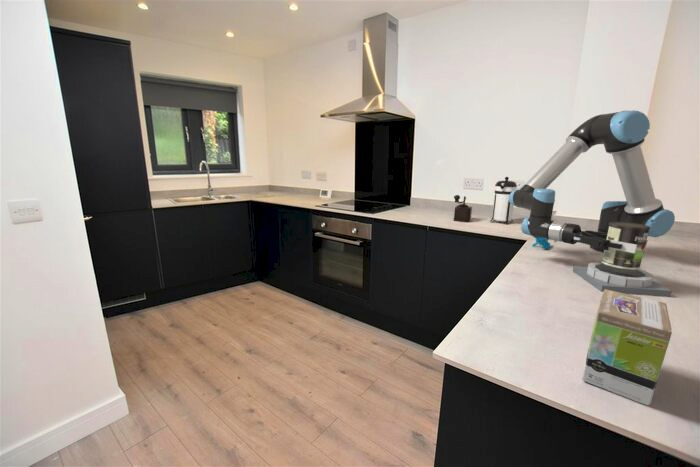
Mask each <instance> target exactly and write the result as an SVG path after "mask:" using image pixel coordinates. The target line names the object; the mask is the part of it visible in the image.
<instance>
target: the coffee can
mask: <svg viewBox="0 0 700 467" xmlns="http://www.w3.org/2000/svg"><path fill="white" fill-rule="evenodd" d="M649 229H650V227H649V226H647V225H642V224H637V223H629V222H609V229H608V233H607V238H606V240H609V241H610V242H611V240H614V241H619V242H625V243H630V244H636V245H637V248H636V252H635V253H630V252H625V251H620V250H615V249H610V248H608V250H604V252H603V253H602V257H601V261H600V262H602V263H603V264H605V265H608V266H612V267H616V268H621V269H628V270H638V269H641V264H642V259H643V255H644V252H645V249H646V248H645V245H646V241H647V240H648V237H649V236H648V233H649Z"/></svg>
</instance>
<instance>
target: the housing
mask: <svg viewBox="0 0 700 467" xmlns="http://www.w3.org/2000/svg"><path fill="white" fill-rule="evenodd" d="M572 267H573V268H572V272H573V273H575V274H576V275H577V276H579V277H580V278H581V279H583V280H584V281H585V282H587V283H588V284H590V285H591V286H593V287H594V288H596V289H597V290H598V291H600V292H602V293H603V292H604V290H605V289H607V290H611V291H616V292H620V293H624V294H629V295H641V296H642V295H643V296H652V297H653V296H654V297H655V296H656V297H668V298H669V297H671V294H672V290H671V289H669V288H667V287H665V286H663V285H661V284H660V283H657V282H655V281H654V275H653V274H652V273H650V272H648V271H646V270H643V269H641V268H640V269H638V270H628V269H621V268H616V267H612V266H608V265H605V264H603V263H602V262H601V261H599V262H597V261H596V262H590V263H588V265H587V266H576V265H574V266H572Z"/></svg>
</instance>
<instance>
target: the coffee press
mask: <svg viewBox="0 0 700 467" xmlns="http://www.w3.org/2000/svg"><path fill="white" fill-rule="evenodd" d="M504 179H505V180H499V181H497V182H496V183H495V185H494V186H495V188H494V198H493V205H492V206H493V207H492V213H491V214H492V217H491V219H490V221H489V222H490V223H492V224H493V223H494V222H496V221H497V222H503V223H504V224H505V225H509V223H513V214H514V207H515V206H513V205H512V204H510V202H509V195H510V193H511V192H512V191H514V190H517V187H518V185H517V182H515V181H513V180H509V176H505V177H504Z"/></svg>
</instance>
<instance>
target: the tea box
mask: <svg viewBox="0 0 700 467" xmlns="http://www.w3.org/2000/svg"><path fill="white" fill-rule="evenodd" d="M672 333H673V331H672V324H671V319H670V316H669V311H668V306H667V303H666V302H663V301H659V300H655V299H651V298H646V297H643V296H642V297H641V296H637V295H634V294H627V293H620V292H616V291H611V290H607V289H605V290H604V292H602V296H601V298H600V302H599V304H598V308H597V312H596V316H595V319H594V323H593V328H592V332H591V336H590V340H589V341H590V342H589V345H588V349H587V354H586V357H585V358H586V359H585V362H584V369H583V375H582V379H581V380H582V381H584V382H585V383H589V384H591V385H593V386H596V387H597V388H598V387H599V388H601V389H603V390H605V391H607V392H608V391H609V392H610V393H614V394H615V395H618V396H622V397H623V398H626V399H630V400H631V401H635V402H636V403H638V404H639V403H640V404H642V405H645V406H649V405H650V404H651V403H652V400H653V396H654V393H655V389H656V386H657V383H658V380H659V376H660V373H661V369H662V367H663V363H664V361H665V357H666V354H667V351H668V348H669V347H668V346H669V344H670V341H671V338H672Z"/></svg>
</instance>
